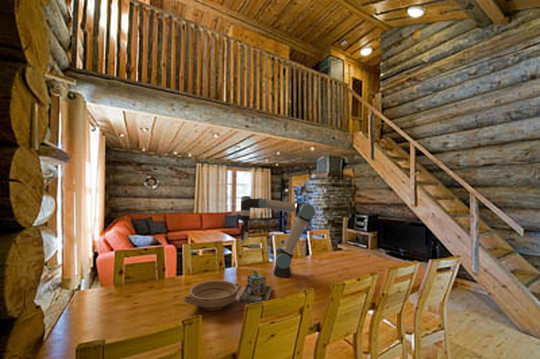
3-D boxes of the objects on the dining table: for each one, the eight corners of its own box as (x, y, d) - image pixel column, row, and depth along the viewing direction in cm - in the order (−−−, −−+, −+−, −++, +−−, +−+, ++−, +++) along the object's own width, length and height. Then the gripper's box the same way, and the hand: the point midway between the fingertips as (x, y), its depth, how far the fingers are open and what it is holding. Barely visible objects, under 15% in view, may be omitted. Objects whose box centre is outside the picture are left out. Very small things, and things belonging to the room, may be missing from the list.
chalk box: (265, 295, 160) (266, 272, 161) (253, 297, 155) (254, 274, 156) (258, 289, 168) (259, 268, 168) (246, 292, 163) (247, 270, 164)
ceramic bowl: (192, 326, 125) (193, 306, 125) (174, 305, 147) (175, 288, 147) (252, 306, 148) (252, 289, 149) (228, 290, 170) (229, 275, 171)
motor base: (247, 287, 176) (247, 275, 177) (272, 289, 174) (272, 277, 174) (239, 301, 154) (239, 288, 154) (267, 304, 151) (268, 290, 152)
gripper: (244, 213, 209) (243, 238, 208) (236, 216, 184) (235, 245, 183) (252, 213, 208) (252, 239, 207) (246, 217, 183) (245, 245, 182)
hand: (244, 242), depth 195 cm, fingers open, 13 cm apart
